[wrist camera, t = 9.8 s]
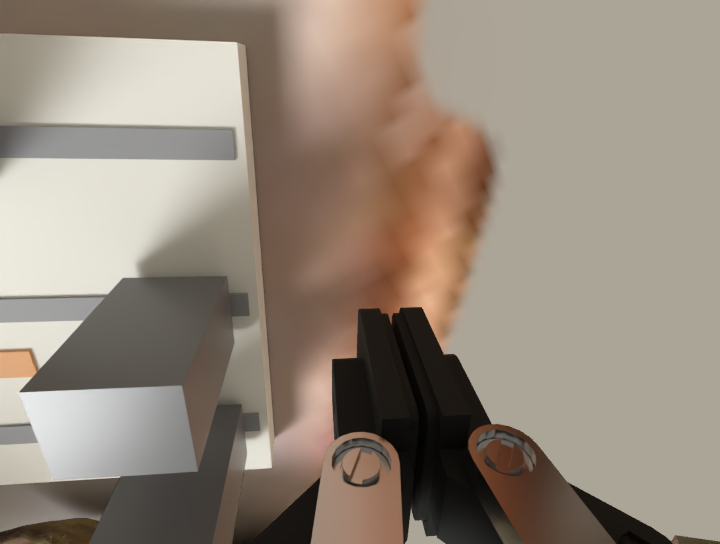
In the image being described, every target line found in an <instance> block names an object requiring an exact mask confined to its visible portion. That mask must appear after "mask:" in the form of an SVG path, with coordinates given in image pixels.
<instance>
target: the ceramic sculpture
mask: <svg viewBox="0 0 720 544" xmlns="http://www.w3.org/2000/svg"><path fill="white" fill-rule="evenodd" d="M98 523H99V521H97V520H92V519H88V518H73V519H66V520H59V521H49V522H43V523H37V524H31V525H26V526H21V527H18V528H14V529H11V530H7V531H4V532H0V544H89V542H90V540H91V538H92V536H93V534H94V532H95V530H96V527H97V525H98Z"/></svg>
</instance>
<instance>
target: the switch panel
mask: <svg viewBox="0 0 720 544" xmlns="http://www.w3.org/2000/svg"><path fill="white" fill-rule="evenodd" d="M205 276H227V280H228V288H229V297H230V306H231V315H232V324H233V333H234V341H235V343H234V346H233V350H232V353H231V357H230V360H229V364H228V367H227V371H226V374H225V378H224V382H223V385H222V389H221V392H220V396H219V399H218V403H217V405H233V404H242V412H243V421H244V430H245V439H246V447H247V458H246V464H245V470H247V469H263V468H272V460H273V450H274V440H275V437H274V423H273V410H272V396H271V383H270V369H269V356H268V343H267V329H266V316H265V302H264V289H263V275H262V262H261V248H260V235H259V222H258V208H257V195H256V181H255V168H254V154H253V141H252V127H251V114H250V101H249V87H248V74H247V60H246V47H245V45H243V44H240V43H238V42H218V41H192V40H166V39H140V38H114V37H88V36H62V35H36V34H10V33H0V485H10V484H26V483H41V482H57V481H73V480H89V479H105V478H120V476H119V477H103V478H87V479H72V480H56V481H53V479H52V477H51V474H50V472H49V469H48V466H47V464H46V461H45V459H44V456H43V454H42V451H41V449H40V446H39V443H38V441H37V438H36V436H35V433H34V431H33V428H32V426H31V423H30V420H29V418H28V415H27V413H26V410H25V408H24V405H23V403H22V400H21V398H20V395H19V391H20V390H21V389H22V388H23V387H24V386H25V385H26V384H27V383H28V382H29V380H30V379H31V378H32V377H33V376H34V375H35V374H36V373H37V372H38V371H39V369H40V368H41V367H42V366H43V365H44V364H45V363H46V362H47V361H48V360H49V358H50V357H51V356H52V355H53V354H54V353H55V352H56V351H57V350H58V349H59V347H60V346H61V345H62V344H63V343H64V342H65V341H66V340H67V339H68V338H69V337H70V335H71V334H72V333H73V332H74V331H75V330H76V329H77V328H78V327H79V326H80V324H81V323H82V322H83V321H84V320H85V319H86V318H87V317H88V316H89V315H90V313H91V312H92V311H93V310H94V309H95V308H96V307H97V306H98V305H99V304H100V302H101V301H102V300H103V299H104V298H105V297H106V296H107V295H108V294H109V293H110V291H111V290H112V289H113V288H114V287H115V286H116V285H117V284H118V283H119V282H120V280H121V279H122V278H146V277H205Z"/></svg>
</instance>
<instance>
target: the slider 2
mask: <svg viewBox="0 0 720 544" xmlns="http://www.w3.org/2000/svg"><path fill="white" fill-rule="evenodd" d="M246 458H247V447H246V439H245V430H244V421H243V412H242V404H233V405H217V406H216V410H215V413H214V417H213V420H212V424H211V427H210V431H209V434H208V438H207V441H206V445H205V448H204V452H203V456H202V459H201V463H200V466H199V470H198V472H183V473H167V474H151V475H135V476H120V479H119V481H118V483H117V485H116V487H115V489H114V491H113V493H112V496H111V498H110V500H109V502H108V504H107V506H106V508H105V510H104V513H103V515H102V517H101V519H100V521H99V523H98V525H97V527H96V530H95V532H94V534H93V536H92V538H91V540H90V542H89V544H232V541H233V535H234V529H235V523H236V517H237V511H238V505H239V499H240V493H241V487H242V481H243V476H244V470H245V464H246Z"/></svg>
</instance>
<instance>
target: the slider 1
mask: <svg viewBox="0 0 720 544" xmlns="http://www.w3.org/2000/svg"><path fill="white" fill-rule="evenodd" d="M234 343H235V341H234V333H233V324H232V315H231V306H230V297H229V288H228V280H227V276H205V277H146V278H122V279H121V280H120V282H119V283H118V284H117V285H116V286H115V287H114V288H113V289H112V290H111V291H110V293H109V294H108V295H107V296H106V297H105V298H104V299H103V300H102V301H101V302H100V304H99V305H98V306H97V307H96V308H95V309H94V310H93V311H92V312H91V313H90V315H89V316H88V317H87V318H86V319H85V320H84V321H83V322H82V323H81V324H80V326H79V327H78V328H77V329H76V330H75V331H74V332H73V333H72V334H71V335H70V337H69V338H68V339H67V340H66V341H65V342H64V343H63V344H62V345H61V346H60V347H59V349H58V350H57V351H56V352H55V353H54V354H53V355H52V356H51V357H50V358H49V360H48V361H47V362H46V363H45V364H44V365H43V366H42V367H41V368H40V369H39V371H38V372H37V373H36V374H35V375H34V376H33V377H32V378H31V379H30V380H29V382H28V383H27V384H26V385H25V386H24V387H23V388H22V389H21V390H20V391H19V395H20V398H21V400H22V403H23V405H24V408H25V410H26V413H27V415H28V418H29V420H30V423H31V426H32V428H33V431H34V433H35V436H36V438H37V441H38V443H39V446H40V449H41V451H42V454H43V456H44V459H45V461H46V464H47V466H48V469H49V472H50V474H51V477H52V479H53V481H56V480H72V479H87V478H103V477H119V476H135V475H151V474H167V473H183V472H198V470H199V466H200V463H201V459H202V456H203V452H204V448H205V445H206V441H207V438H208V434H209V431H210V427H211V424H212V420H213V417H214V413H215V410H216V406H217V403H218V399H219V396H220V392H221V389H222V385H223V382H224V378H225V374H226V371H227V367H228V364H229V360H230V357H231V353H232V350H233V346H234Z"/></svg>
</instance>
